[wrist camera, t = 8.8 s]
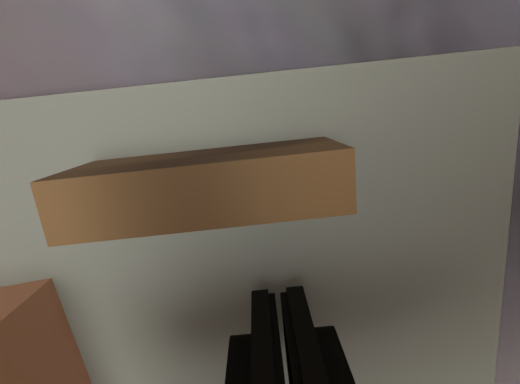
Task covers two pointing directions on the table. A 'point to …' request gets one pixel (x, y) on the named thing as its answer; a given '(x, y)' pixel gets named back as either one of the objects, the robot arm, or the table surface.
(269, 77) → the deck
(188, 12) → the table surface
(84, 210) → the channel walls
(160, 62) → the table surface
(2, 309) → the block
